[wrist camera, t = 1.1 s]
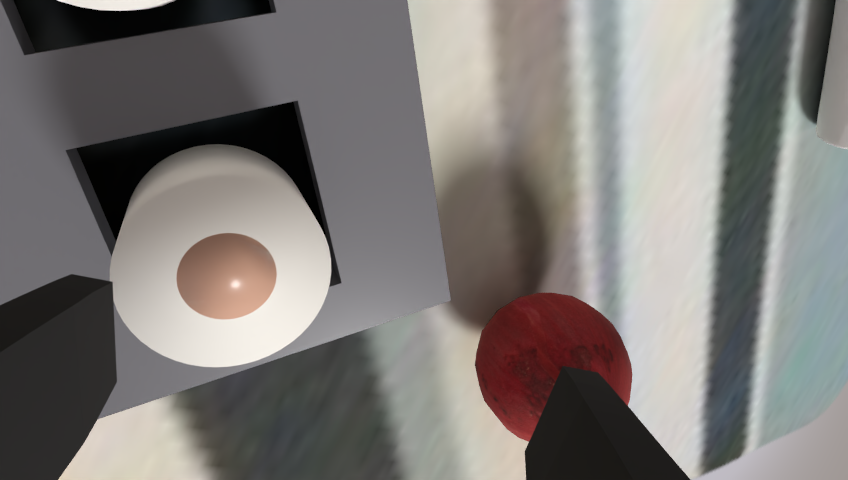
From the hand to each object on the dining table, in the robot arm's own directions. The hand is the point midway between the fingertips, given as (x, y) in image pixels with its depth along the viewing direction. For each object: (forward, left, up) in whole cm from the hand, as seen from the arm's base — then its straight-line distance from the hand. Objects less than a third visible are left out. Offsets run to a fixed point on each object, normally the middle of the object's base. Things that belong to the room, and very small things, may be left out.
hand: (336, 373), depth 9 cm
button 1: (-1, 0, -7) cm, 7 cm away
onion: (+9, -9, -12) cm, 17 cm away
